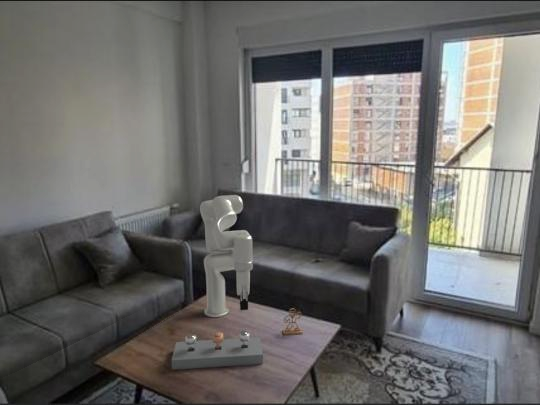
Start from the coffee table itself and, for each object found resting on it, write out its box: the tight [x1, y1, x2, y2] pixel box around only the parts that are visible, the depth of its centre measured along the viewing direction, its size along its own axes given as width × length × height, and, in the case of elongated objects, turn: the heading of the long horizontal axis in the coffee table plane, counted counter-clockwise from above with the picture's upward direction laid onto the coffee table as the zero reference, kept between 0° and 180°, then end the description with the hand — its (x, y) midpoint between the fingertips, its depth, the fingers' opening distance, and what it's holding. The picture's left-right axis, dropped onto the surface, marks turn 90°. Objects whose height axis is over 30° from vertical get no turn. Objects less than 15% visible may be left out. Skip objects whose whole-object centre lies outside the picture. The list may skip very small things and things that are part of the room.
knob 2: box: [238, 330, 251, 347], centre depth 164 cm, size 4×4×6 cm
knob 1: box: [184, 333, 197, 350], centre depth 161 cm, size 4×4×6 cm
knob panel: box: [171, 336, 264, 370], centre depth 163 cm, size 14×36×4 cm, turn 96°
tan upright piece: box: [282, 307, 303, 336], centre depth 183 cm, size 9×4×12 cm, turn 95°
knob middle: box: [211, 331, 224, 349], centre depth 162 cm, size 4×4×6 cm
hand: (244, 307), depth 161 cm, fingers closed
